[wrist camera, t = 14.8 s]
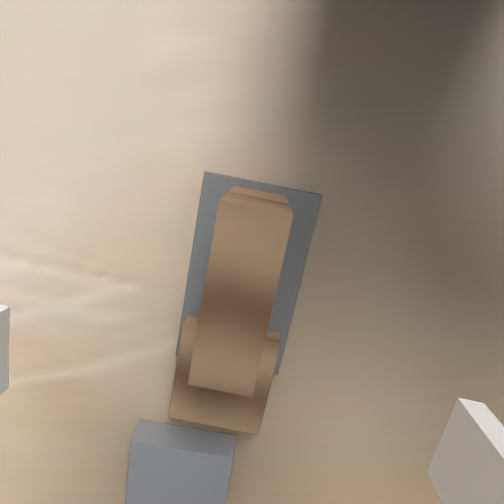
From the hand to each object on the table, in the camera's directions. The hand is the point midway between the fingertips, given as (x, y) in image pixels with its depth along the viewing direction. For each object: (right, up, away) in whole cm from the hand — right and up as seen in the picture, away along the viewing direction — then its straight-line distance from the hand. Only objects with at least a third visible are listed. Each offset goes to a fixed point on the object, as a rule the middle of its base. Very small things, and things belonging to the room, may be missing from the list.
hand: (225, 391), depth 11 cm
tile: (-1, -15, +19) cm, 24 cm away
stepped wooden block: (0, 0, +16) cm, 16 cm away
